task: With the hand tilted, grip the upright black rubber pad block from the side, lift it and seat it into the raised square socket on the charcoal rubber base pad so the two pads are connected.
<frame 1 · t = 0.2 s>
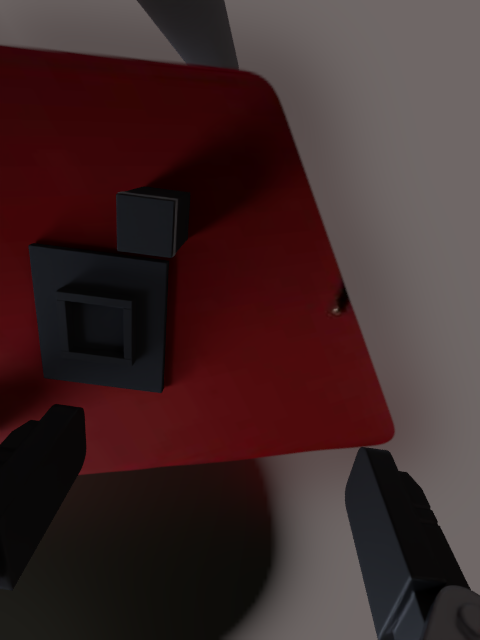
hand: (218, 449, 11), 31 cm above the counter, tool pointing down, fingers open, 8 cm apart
base pad: (103, 321, 44), on the counter
pad block: (166, 213, 39), on the counter
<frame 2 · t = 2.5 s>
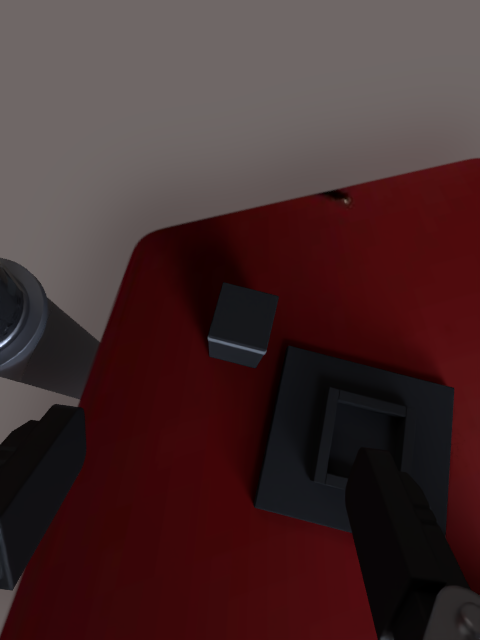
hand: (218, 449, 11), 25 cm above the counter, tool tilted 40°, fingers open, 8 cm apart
base pad: (357, 443, 35), on the counter
pad block: (238, 340, 38), on the counter
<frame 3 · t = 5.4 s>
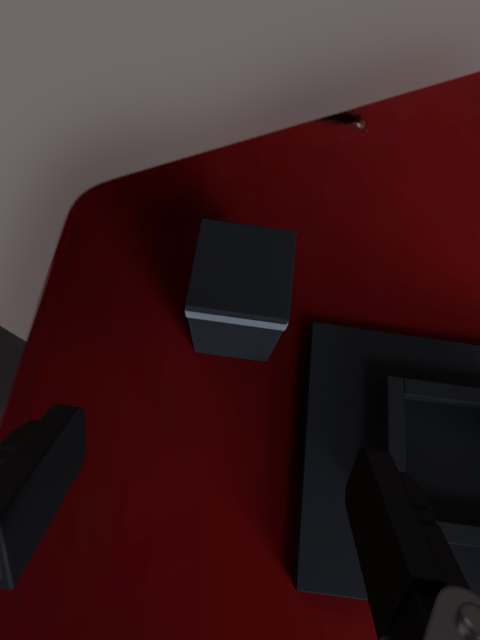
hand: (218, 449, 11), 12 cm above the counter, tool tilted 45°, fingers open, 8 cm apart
base pad: (437, 459, 23), on the counter
pad block: (235, 323, 25), on the counter
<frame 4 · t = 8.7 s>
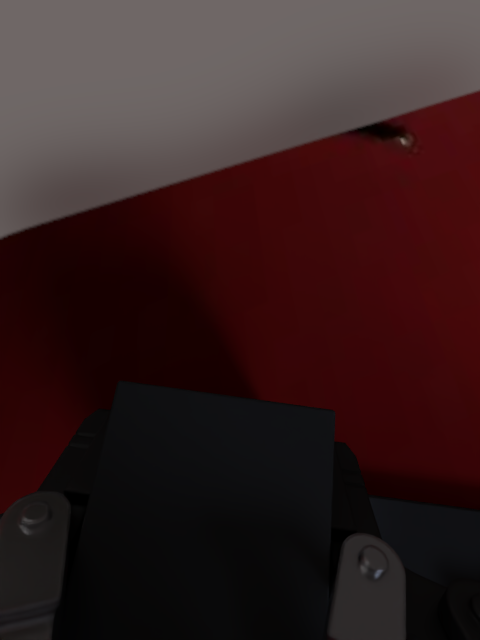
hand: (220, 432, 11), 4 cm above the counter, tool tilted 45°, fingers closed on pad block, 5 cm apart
pad block: (212, 487, 15), on the counter, touching gripper
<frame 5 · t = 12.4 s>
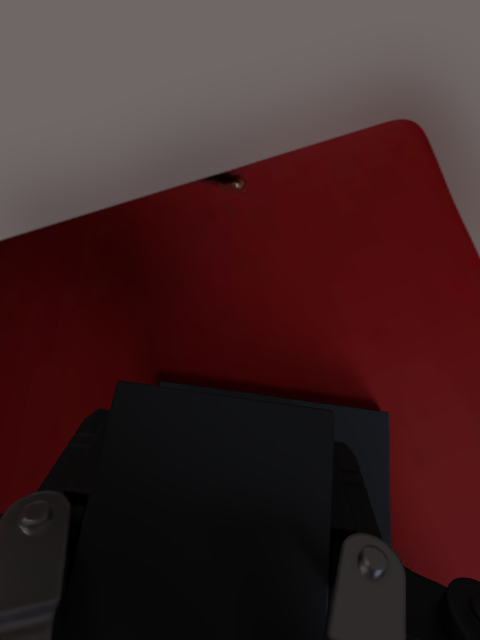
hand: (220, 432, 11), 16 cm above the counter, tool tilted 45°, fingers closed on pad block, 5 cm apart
base pad: (263, 507, 25), on the counter
pad block: (212, 486, 15), point 12 cm above the counter, touching gripper
when the fingers open (5 cm above the counter, at t = 16.4 s): pad block stays where it is, resting on base pad.
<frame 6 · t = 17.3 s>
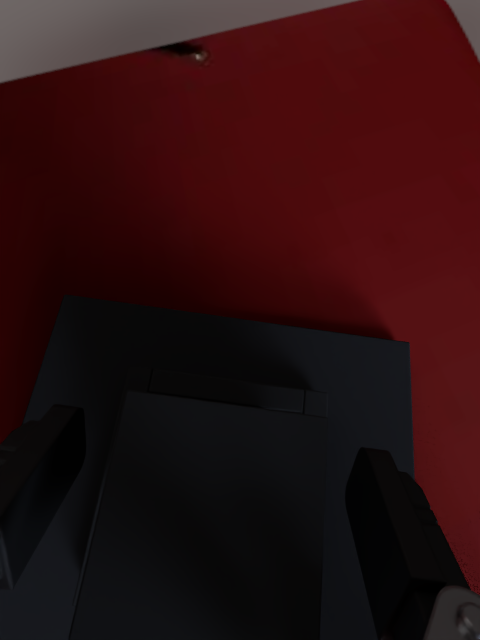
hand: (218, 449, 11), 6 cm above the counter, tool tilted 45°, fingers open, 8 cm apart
base pad: (214, 483, 16), on the counter
pad block: (215, 488, 15), point 1 cm above the counter, touching base pad
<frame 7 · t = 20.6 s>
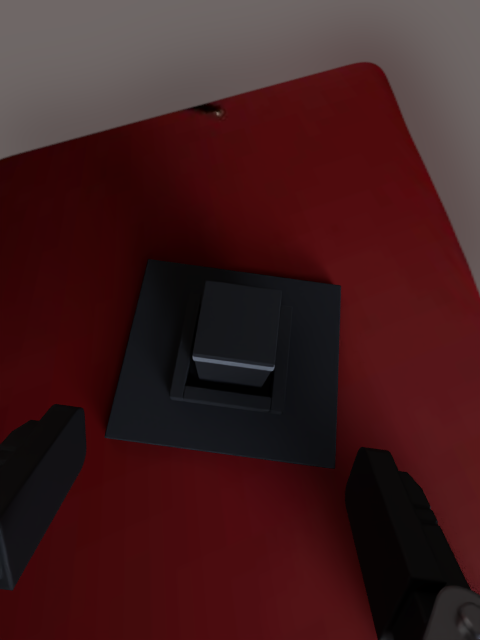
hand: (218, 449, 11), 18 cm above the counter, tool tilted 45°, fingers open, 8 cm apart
base pad: (233, 357, 30), on the counter
pad block: (234, 355, 30), point 1 cm above the counter, touching base pad
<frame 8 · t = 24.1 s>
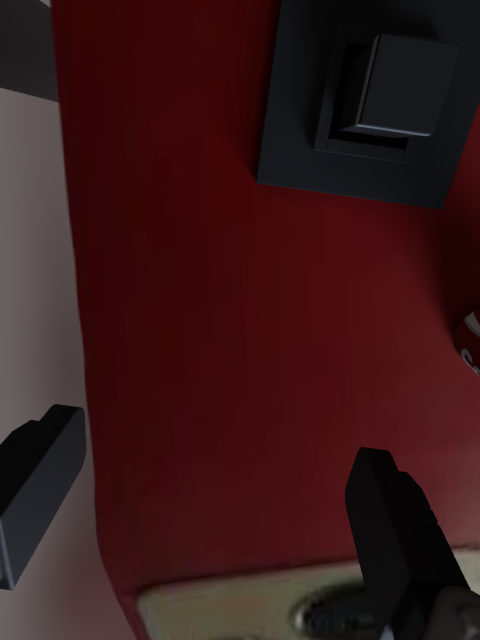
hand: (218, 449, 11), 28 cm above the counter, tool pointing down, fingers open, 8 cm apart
base pad: (369, 102, 31), on the counter
pad block: (372, 102, 30), point 1 cm above the counter, touching base pad
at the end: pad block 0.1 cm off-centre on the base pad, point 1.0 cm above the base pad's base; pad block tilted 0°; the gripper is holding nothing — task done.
